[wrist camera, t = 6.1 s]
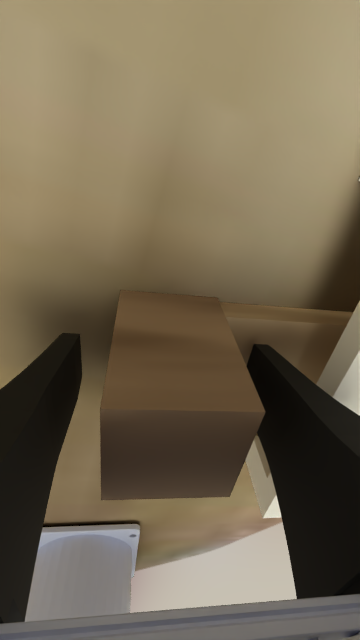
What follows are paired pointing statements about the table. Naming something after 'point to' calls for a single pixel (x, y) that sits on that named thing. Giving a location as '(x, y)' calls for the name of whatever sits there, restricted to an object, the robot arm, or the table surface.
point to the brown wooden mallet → (194, 389)
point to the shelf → (337, 380)
